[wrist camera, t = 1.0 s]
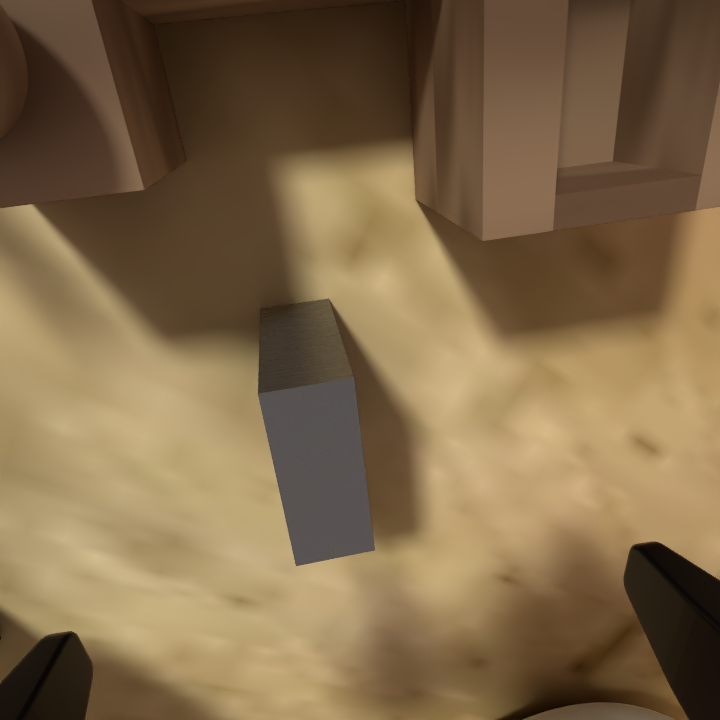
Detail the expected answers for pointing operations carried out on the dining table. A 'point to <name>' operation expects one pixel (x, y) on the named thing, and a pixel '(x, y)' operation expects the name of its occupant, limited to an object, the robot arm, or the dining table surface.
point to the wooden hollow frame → (428, 104)
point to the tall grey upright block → (314, 431)
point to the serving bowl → (600, 712)
